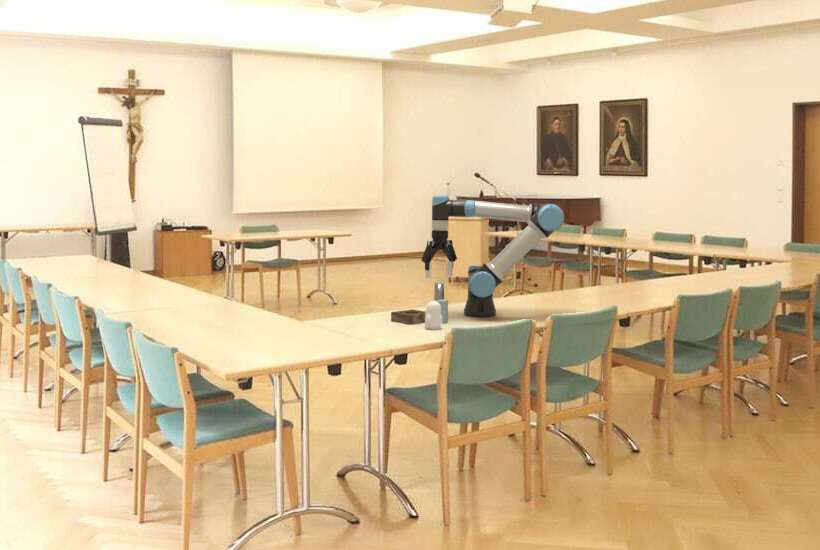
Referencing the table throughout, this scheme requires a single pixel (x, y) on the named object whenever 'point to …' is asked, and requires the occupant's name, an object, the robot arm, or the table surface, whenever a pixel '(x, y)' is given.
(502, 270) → the robot arm
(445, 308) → the square bar
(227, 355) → the table surface
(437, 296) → the round bit
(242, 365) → the table surface
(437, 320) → the figurine
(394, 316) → the socket block
